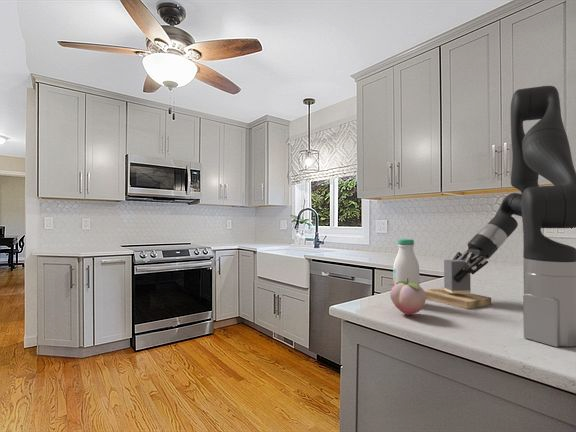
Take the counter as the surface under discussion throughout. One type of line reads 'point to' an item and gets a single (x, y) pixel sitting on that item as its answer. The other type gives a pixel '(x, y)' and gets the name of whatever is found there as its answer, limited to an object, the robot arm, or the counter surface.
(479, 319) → the counter surface
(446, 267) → the block
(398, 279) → the milk bottle
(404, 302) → the decorative fruit
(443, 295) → the oak board
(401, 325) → the counter surface
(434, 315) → the counter surface
